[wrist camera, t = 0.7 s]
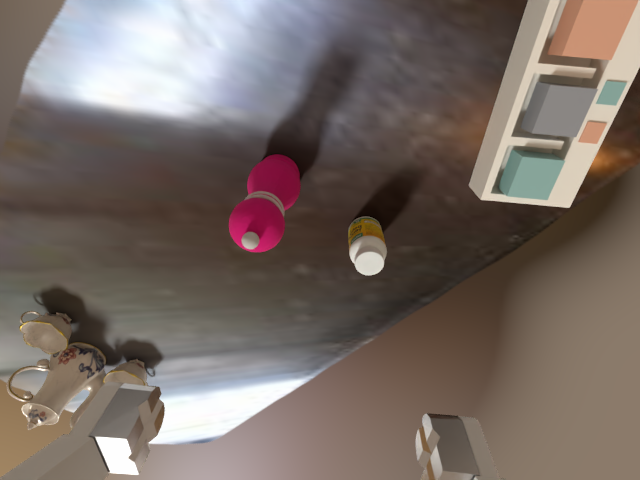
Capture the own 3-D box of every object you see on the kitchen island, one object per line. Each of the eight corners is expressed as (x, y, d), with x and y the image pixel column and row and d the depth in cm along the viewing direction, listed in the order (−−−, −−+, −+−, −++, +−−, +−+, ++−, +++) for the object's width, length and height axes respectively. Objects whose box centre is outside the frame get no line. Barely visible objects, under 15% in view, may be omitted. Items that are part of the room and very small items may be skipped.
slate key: (536, 81, 40) (550, 84, 37) (581, 85, 40) (598, 89, 37) (520, 127, 43) (531, 133, 40) (561, 131, 43) (576, 137, 40)
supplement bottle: (371, 249, 57) (376, 285, 49) (342, 236, 56) (342, 271, 48) (387, 223, 54) (396, 256, 46) (357, 209, 53) (361, 241, 45)
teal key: (511, 149, 44) (522, 156, 41) (552, 153, 44) (565, 160, 41) (497, 187, 47) (507, 196, 44) (536, 191, 47) (547, 200, 44)
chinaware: (172, 358, 76) (138, 428, 61) (134, 397, 81) (94, 471, 66) (47, 287, 67) (-29, 350, 52) (13, 337, 72) (-65, 406, 57)
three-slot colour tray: (533, -17, 38) (559, -23, 34) (640, -7, 38) (680, -12, 34) (468, 185, 51) (481, 200, 46) (549, 193, 51) (570, 208, 46)
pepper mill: (299, 147, 49) (277, 208, 32) (306, 194, 53) (290, 272, 35) (249, 153, 50) (202, 215, 32) (260, 199, 53) (223, 277, 36)
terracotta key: (567, -3, 36) (585, -5, 33) (617, 2, 36) (638, -1, 33) (546, 54, 39) (561, 55, 36) (593, 58, 39) (611, 60, 36)
